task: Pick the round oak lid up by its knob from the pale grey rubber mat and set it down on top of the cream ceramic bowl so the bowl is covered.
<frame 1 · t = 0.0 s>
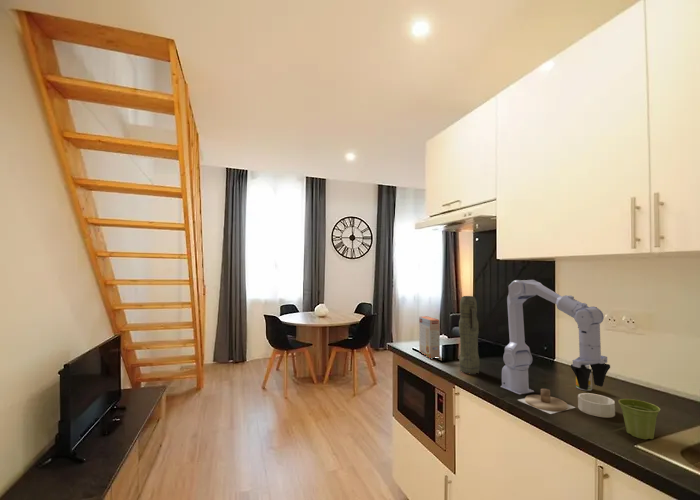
hand: (591, 387, 111), 10 cm above the counter, tool pointing down, fingers open, 7 cm apart
cracker box: (429, 356, 188), on the counter
lid: (545, 403, 122), resting on mat
mat: (545, 404, 122), on the counter
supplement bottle: (584, 389, 138), on the counter
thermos: (469, 371, 160), on the counter
bowl: (596, 411, 116), on the counter
plant pot: (639, 435, 100), on the counter
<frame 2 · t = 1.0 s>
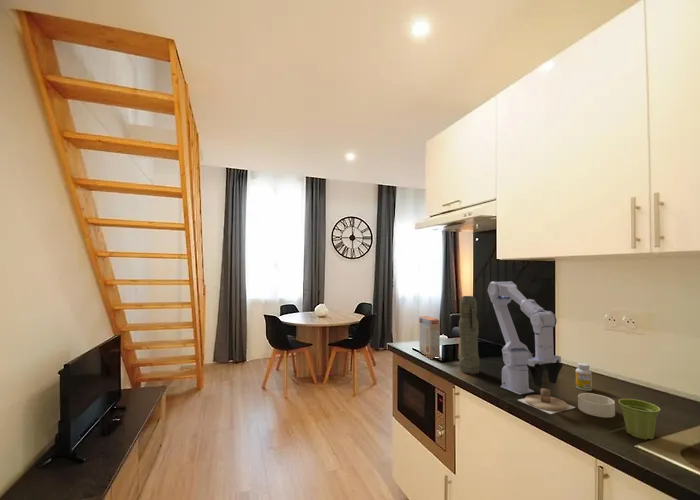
hand: (545, 384, 122), 7 cm above the counter, tool pointing down, fingers open, 7 cm apart
nothing on the counter moved.
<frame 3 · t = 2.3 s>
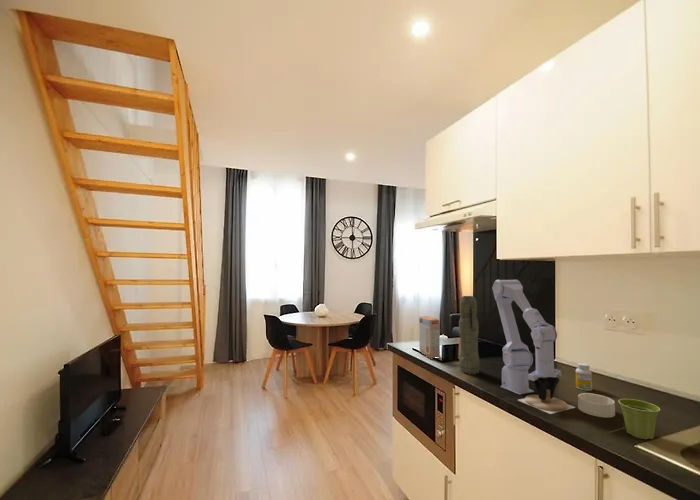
hand: (545, 398, 122), 2 cm above the counter, tool pointing down, fingers closed on lid, 3 cm apart
lid: (545, 403, 122), resting on mat, touching gripper
everything else where it was.
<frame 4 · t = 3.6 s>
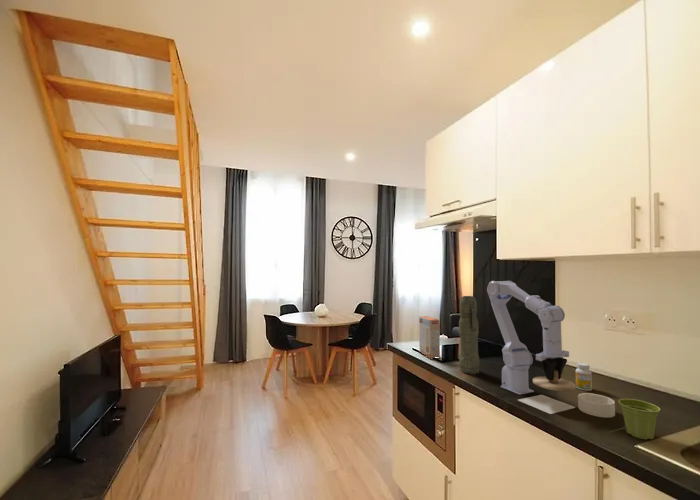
hand: (553, 379, 121), 9 cm above the counter, tool pointing down, fingers closed on lid, 3 cm apart
lid: (553, 384, 121), point 7 cm above the counter, touching gripper
everything else where it was.
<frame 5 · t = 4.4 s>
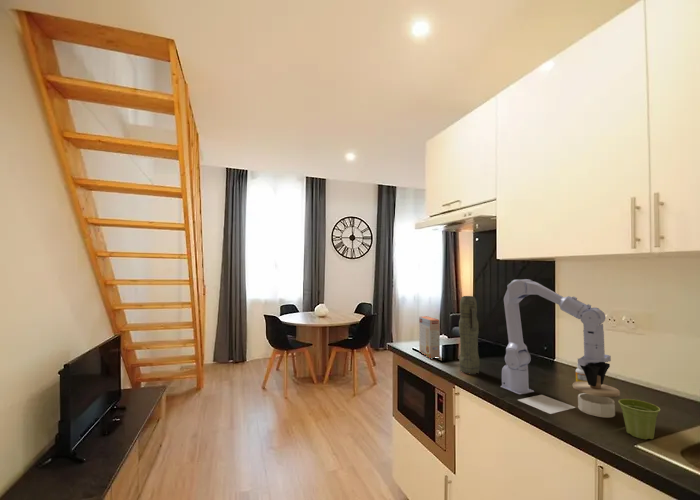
hand: (595, 384, 116), 9 cm above the counter, tool pointing down, fingers closed on lid, 3 cm apart
lid: (595, 390, 116), point 7 cm above the counter, touching gripper
everything else where it was.
when the fingers open (7 cm above the counter, at t = 5.0 s): lid stays where it is, resting on bowl.
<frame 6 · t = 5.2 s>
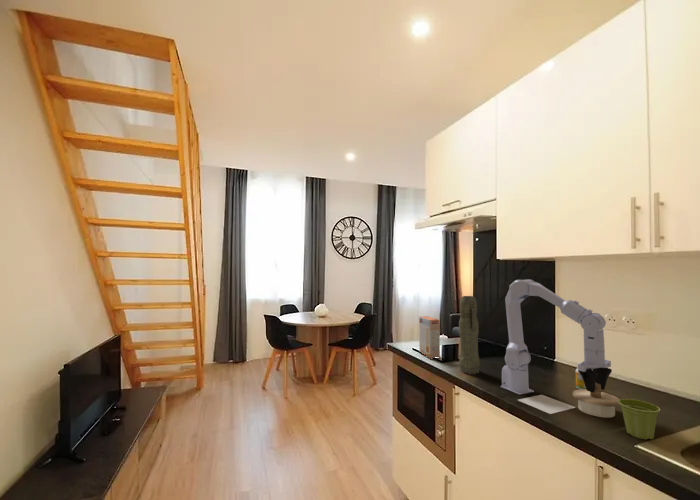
hand: (595, 390, 116), 7 cm above the counter, tool pointing down, fingers open, 5 cm apart
lid: (595, 398, 116), point 4 cm above the counter, touching bowl
everything else where it was.
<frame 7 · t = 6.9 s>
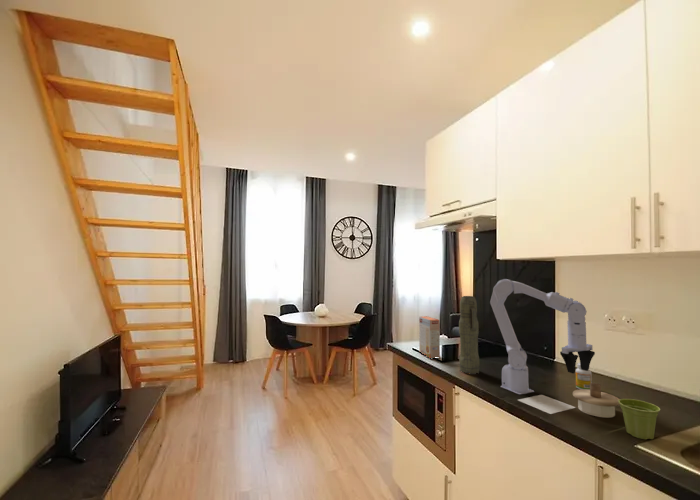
hand: (578, 371, 126), 10 cm above the counter, tool pointing down, fingers open, 7 cm apart
nothing on the counter moved.
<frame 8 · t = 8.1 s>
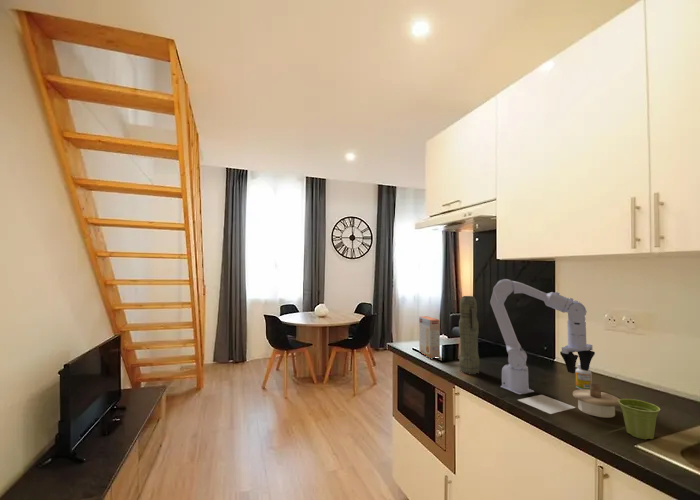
hand: (578, 371, 126), 10 cm above the counter, tool pointing down, fingers open, 7 cm apart
nothing on the counter moved.
at the end: lid 0.0 cm off-centre on the bowl, point 4.4 cm above the bowl's base; lid tilted 0°; the gripper is holding nothing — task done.
